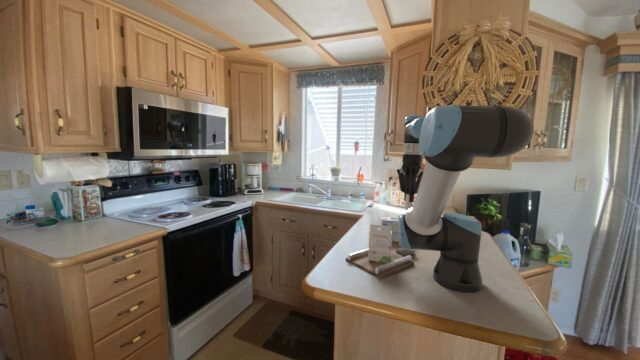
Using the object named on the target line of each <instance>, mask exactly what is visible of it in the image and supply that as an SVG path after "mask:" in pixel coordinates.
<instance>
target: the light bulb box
mask: <svg viewBox="0 0 640 360" xmlns="http://www.w3.org/2000/svg"><path fill="white" fill-rule="evenodd" d="M398 218H399V217H391V216H390V217H387V216H385V217H384V216H380V220H379V221H380V222H379V225H382V226H391V231H392V243H393V242H396V243H399V241H400V239H399V224H398ZM379 230H384V229H382V228H379Z"/></svg>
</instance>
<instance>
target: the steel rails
mask: <svg viewBox="0 0 640 360" xmlns="http://www.w3.org/2000/svg"><path fill="white" fill-rule="evenodd" d="M368 254H369V247H368V248H365V249H361V250H358V251H355V252H352V253H348V255H347V257H348V259H349V260H352V259H356V258H359V257H362V256H365V255H368ZM412 256H413V255H408V256H401V257H402V258H400V259H397V260H394V261H392V262H389V263H386V264H384V265H381V266H378V267H376V268H375V273H376V274H380V273H382V272H385V271H387V270H390V269H392V268H395V267H397V266H400V265H402V264H405V263H407V262H410V261H412Z"/></svg>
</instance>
